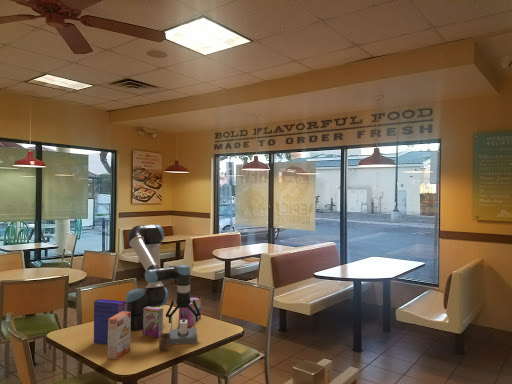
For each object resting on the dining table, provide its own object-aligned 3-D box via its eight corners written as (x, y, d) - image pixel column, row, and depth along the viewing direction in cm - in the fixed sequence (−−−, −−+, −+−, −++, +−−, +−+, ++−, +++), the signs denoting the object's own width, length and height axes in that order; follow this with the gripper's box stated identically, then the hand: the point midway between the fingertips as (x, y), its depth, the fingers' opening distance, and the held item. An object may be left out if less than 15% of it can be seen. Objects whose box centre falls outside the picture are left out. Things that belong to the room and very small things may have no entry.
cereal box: (125, 343, 223) (126, 301, 223) (120, 346, 218) (121, 303, 218) (99, 340, 227) (99, 298, 227) (93, 343, 223) (94, 300, 223)
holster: (159, 351, 212) (159, 340, 212) (160, 344, 222) (160, 333, 222) (168, 350, 213) (168, 339, 213) (169, 343, 223) (169, 333, 223)
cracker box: (117, 360, 200) (118, 319, 200) (106, 359, 201) (107, 318, 201) (131, 349, 214) (131, 311, 214) (120, 348, 215) (121, 310, 215)
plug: (178, 340, 227) (179, 321, 227) (179, 336, 234) (180, 318, 234) (186, 340, 228) (187, 321, 228) (186, 336, 234) (187, 318, 234)
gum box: (189, 327, 249) (189, 306, 249) (177, 327, 251) (177, 305, 251) (201, 316, 273) (201, 296, 273) (190, 315, 274) (190, 296, 274)
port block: (168, 344, 222) (168, 339, 222) (169, 334, 237) (169, 329, 237) (197, 342, 224) (197, 337, 224) (196, 332, 240) (196, 328, 240)
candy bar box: (142, 335, 235) (142, 308, 235) (147, 332, 240) (147, 305, 240) (158, 337, 231) (158, 310, 231) (163, 335, 236) (163, 307, 236)
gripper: (161, 294, 225) (161, 331, 225) (205, 292, 229) (204, 329, 229) (162, 290, 232) (161, 326, 232) (204, 289, 237) (204, 324, 237)
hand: (183, 328), depth 231 cm, fingers open, 13 cm apart
